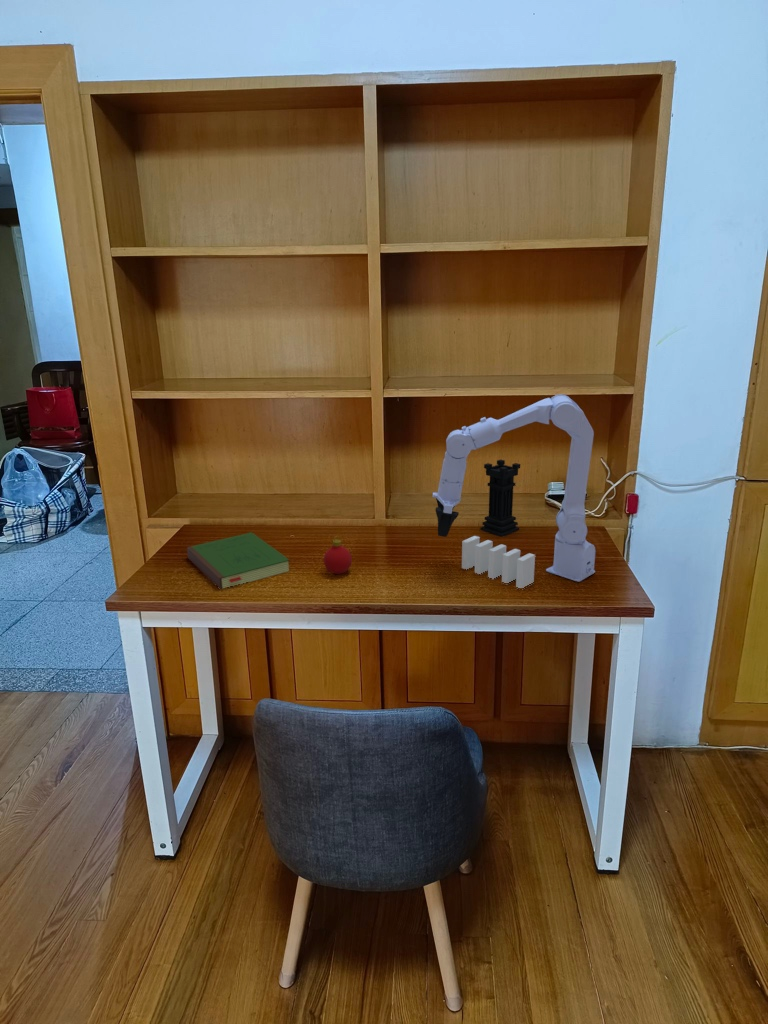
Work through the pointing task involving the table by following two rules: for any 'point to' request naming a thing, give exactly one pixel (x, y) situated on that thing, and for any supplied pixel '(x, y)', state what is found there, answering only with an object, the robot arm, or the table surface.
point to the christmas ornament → (337, 558)
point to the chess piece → (500, 499)
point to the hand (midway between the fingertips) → (442, 530)
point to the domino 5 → (525, 570)
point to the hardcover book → (237, 560)
